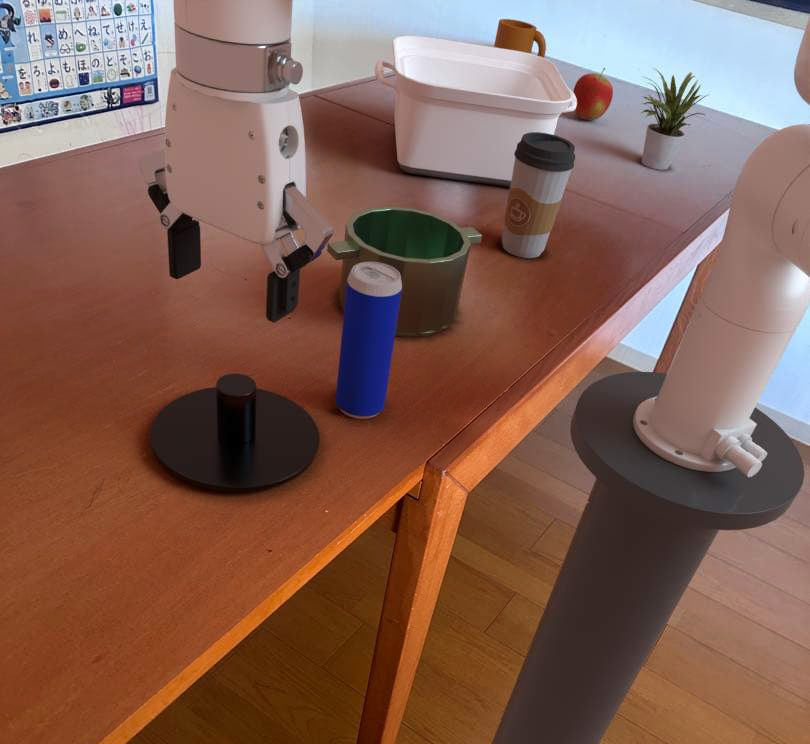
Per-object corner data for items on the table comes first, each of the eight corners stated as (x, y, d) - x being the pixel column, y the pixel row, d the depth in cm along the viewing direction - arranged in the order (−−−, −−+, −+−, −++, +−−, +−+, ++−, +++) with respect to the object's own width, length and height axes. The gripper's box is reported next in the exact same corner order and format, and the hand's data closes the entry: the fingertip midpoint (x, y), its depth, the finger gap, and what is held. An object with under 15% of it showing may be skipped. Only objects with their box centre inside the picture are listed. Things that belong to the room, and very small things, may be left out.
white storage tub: (366, 177, 131) (377, 76, 121) (367, 119, 152) (376, 28, 142) (570, 203, 136) (596, 108, 125) (543, 143, 156) (564, 57, 146)
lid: (346, 473, 77) (353, 416, 73) (184, 515, 70) (180, 454, 66) (278, 384, 86) (280, 327, 82) (129, 412, 79) (122, 353, 75)
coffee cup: (482, 243, 119) (505, 135, 109) (517, 231, 124) (543, 127, 114) (526, 266, 116) (554, 157, 105) (560, 254, 120) (590, 148, 110)
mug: (530, 79, 188) (540, 35, 182) (484, 65, 191) (492, 21, 185) (544, 73, 194) (554, 29, 188) (499, 59, 197) (508, 16, 191)
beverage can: (393, 411, 86) (415, 278, 75) (357, 427, 83) (374, 291, 73) (361, 387, 88) (377, 255, 78) (324, 402, 85) (336, 267, 75)
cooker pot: (494, 323, 102) (512, 251, 96) (354, 349, 94) (363, 271, 87) (434, 270, 111) (446, 200, 104) (300, 288, 102) (304, 214, 95)
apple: (573, 109, 175) (587, 58, 168) (609, 120, 173) (624, 68, 167) (562, 118, 170) (575, 65, 163) (598, 129, 168) (614, 75, 161)
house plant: (622, 142, 164) (650, 51, 152) (690, 160, 162) (724, 68, 150) (612, 163, 153) (641, 67, 142) (684, 182, 151) (720, 86, 140)
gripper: (371, 87, 55) (346, 315, 67) (170, 19, 60) (180, 244, 71) (308, 108, 50) (292, 351, 62) (94, 32, 54) (117, 272, 66)
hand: (232, 293), depth 66 cm, fingers open, 9 cm apart
